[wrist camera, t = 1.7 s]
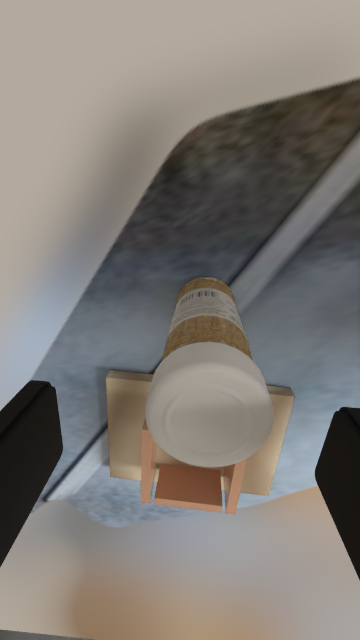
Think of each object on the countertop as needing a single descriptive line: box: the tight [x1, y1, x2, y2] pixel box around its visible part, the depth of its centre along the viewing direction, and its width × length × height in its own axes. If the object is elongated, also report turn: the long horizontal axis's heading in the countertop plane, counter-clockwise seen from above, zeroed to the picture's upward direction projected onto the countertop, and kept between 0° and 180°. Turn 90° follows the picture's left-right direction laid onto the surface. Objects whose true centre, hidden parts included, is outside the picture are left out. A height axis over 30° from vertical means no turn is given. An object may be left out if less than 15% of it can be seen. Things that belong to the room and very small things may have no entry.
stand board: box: [106, 370, 295, 496], centre depth 26 cm, size 16×12×1 cm
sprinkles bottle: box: [145, 277, 274, 467], centre depth 16 cm, size 5×5×13 cm
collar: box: [141, 417, 247, 514], centre depth 24 cm, size 8×8×4 cm
